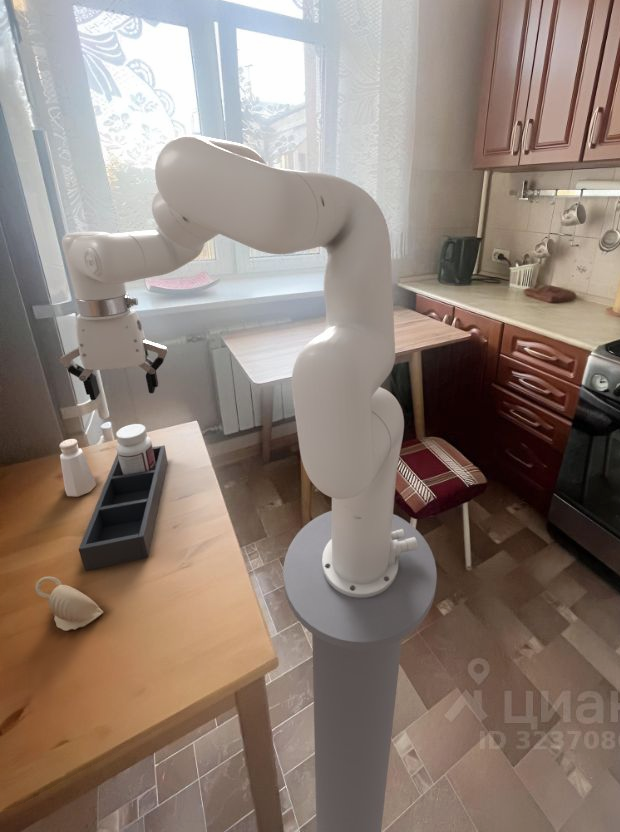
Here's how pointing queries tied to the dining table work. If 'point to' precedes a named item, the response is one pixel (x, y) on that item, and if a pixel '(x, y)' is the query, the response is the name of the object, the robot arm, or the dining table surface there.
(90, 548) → the compartment tray
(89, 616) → the decorative ornament
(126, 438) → the pill bottle
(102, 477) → the dining table surface
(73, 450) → the salt shaker
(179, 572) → the dining table surface
